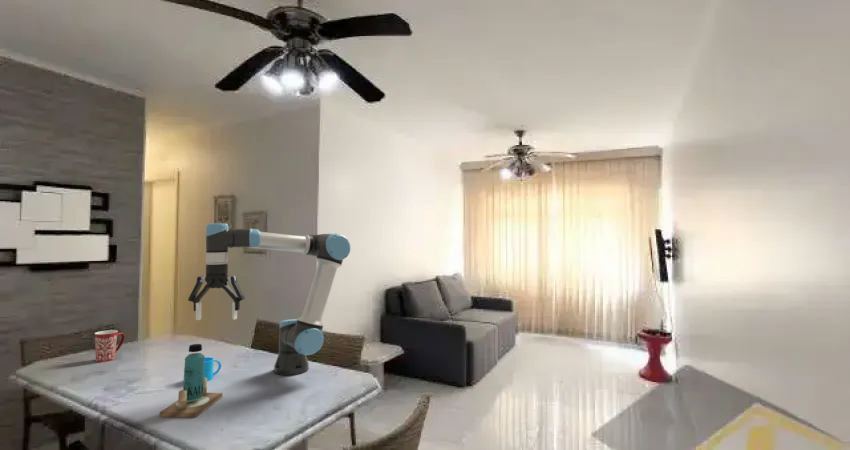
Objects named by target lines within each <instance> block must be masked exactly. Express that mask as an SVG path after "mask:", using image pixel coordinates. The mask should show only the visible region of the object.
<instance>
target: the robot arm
mask: <svg viewBox="0 0 850 450" xmlns="http://www.w3.org/2000/svg"><path fill="white" fill-rule="evenodd" d="M205 228H206V229H205V230H206V231H205V249H206V250H205V263H206V265H205V276H204V275H203V276H198V277H197V278H196V282H195V285H194V286H193V289H192V291H191V292H190V294H189V297H188V301H189V302H192V303H193V312H195V321H200V320H202V301H201V300H202V299H203V297H204V296H205V295H206V294H207V293H208V292H209V290H210V289H222V290H224V291H225V292H226V293H227V295H228V296H230V298H231V299H232V300H233V302H232V303H231V304H232V306H231V309H232V310H231V311H232V313H231V317H232V320H233V321H234V320H235V321H236V320H237V319H238V311H240V307H241V305H240V303H241V301H243V300H246V297H245V295H244V293H243V291H242V289H241V286H240V285H239V283H238V279H237V275H231V276H229V273H228V272H229V264H228V261H229V256H228V255H229V248H230V249H231V248H243V249H244V248H245V249H257V250H269V251H270V250H271V251H283V252H292V253H293V252H295V253H301V254H302V255H304V256H306V255H307V256H313V257H316V258H315V260H316V261H317V267H316V269H315V273H314V277H313V280H312V283H311V286H310V289H309V291H308V296H307V299H306V303H305V306H304V309H303V312H302V314H301V316H300V317H299V318H292V319H284V320H280V323H279V328H278V329H279V330H278V332H279V333H278V354H277V358H276V360H275V363H274V366H273V372H274V374H277V375H281V376H290V375H291V376H293V375H300V374H303V373H305V372H308V371H309V367H310V366H309V361H308V357H307V356H311V355H314V354H316V353H317V352H319V351H320V349H321V348H322V346H323V344H324V339H325V337H324V334H323V329H324V323H323V321H322V320H323V316H324V313H325V310H326V306H327V304H328V303H327V302H328V299H329V296H330V293H331V289H332V286H333V283H334V279H335V276H336V272H337V270H338V268H340V267H342V264H343V261H344V260H345V259H346V258H347V257H348V256H349V254H350V253H351V244H350V242H349V239H348V238H347V237H346V236H345V235H344V234H340V233H319V234H304V235H295V234H285V233H284V234H283V233H275V232H268V231H267V232H266V231H260V229H257V228H250V227H249V228H232V227H231V228H230V227H229V225H228V223H221V222H217V223H216V222H213V223H212V222H211V223H208V224H207V225H206V227H205ZM204 282H206V284H205V285H204V287H203V288H202V289H201V287H202V286H203V283H204ZM228 282H230V283H231V286H232V287H230V284H228ZM232 288H233V289H232ZM200 289H201V290H200Z"/></svg>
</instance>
